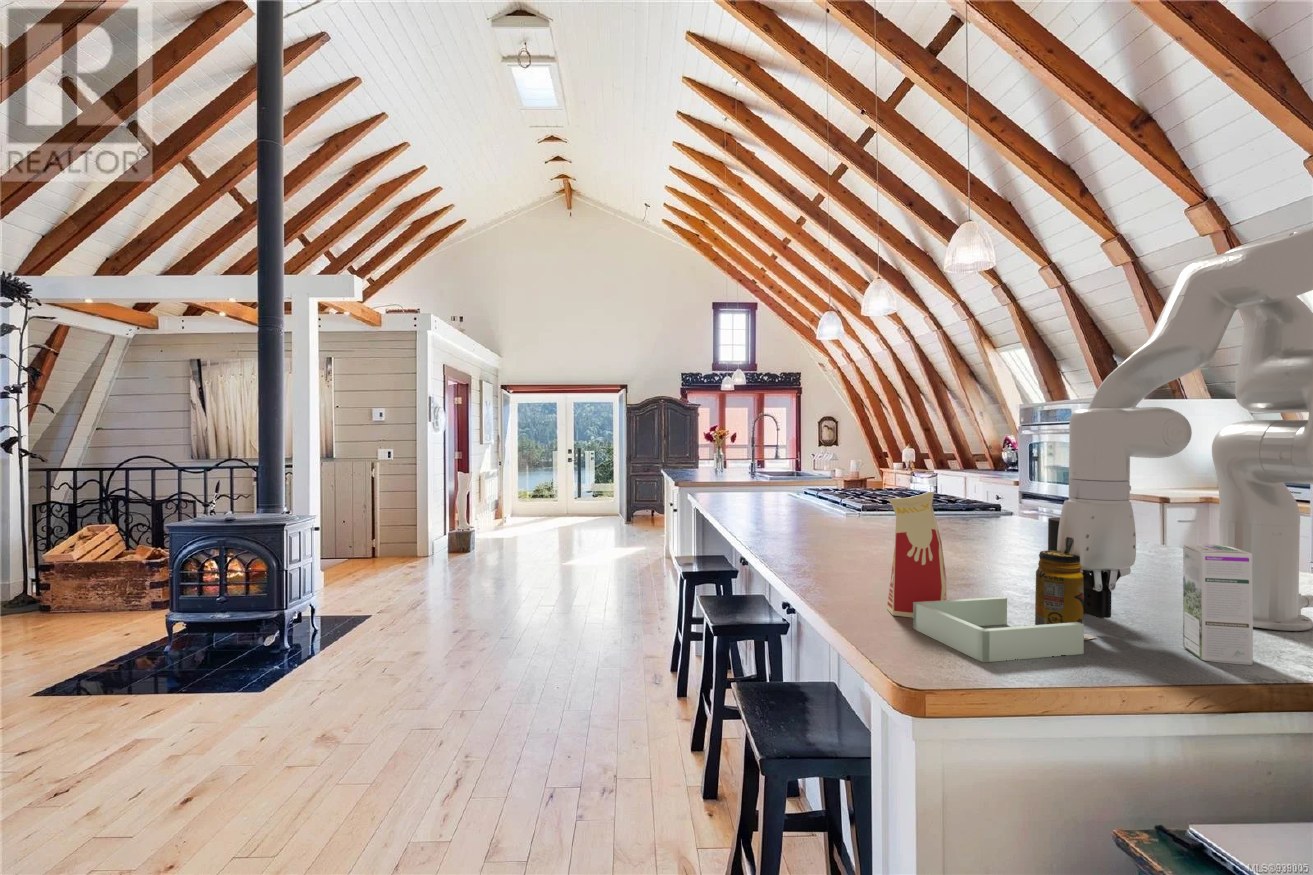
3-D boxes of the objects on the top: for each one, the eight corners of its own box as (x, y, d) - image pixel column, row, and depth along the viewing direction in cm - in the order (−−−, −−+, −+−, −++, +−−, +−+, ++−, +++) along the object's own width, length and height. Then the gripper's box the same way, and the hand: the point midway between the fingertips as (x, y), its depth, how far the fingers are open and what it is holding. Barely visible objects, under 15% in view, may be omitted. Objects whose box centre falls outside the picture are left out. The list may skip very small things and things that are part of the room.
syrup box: (1255, 666, 85) (1256, 552, 85) (1199, 661, 87) (1201, 549, 87) (1231, 651, 91) (1233, 545, 91) (1180, 647, 93) (1181, 542, 92)
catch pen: (1002, 622, 104) (1002, 596, 104) (1083, 654, 90) (1083, 624, 90) (913, 628, 101) (913, 602, 101) (982, 662, 86) (982, 631, 86)
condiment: (1097, 638, 97) (1098, 555, 96) (1057, 645, 93) (1058, 559, 93) (1050, 624, 103) (1050, 547, 103) (1011, 631, 100) (1011, 550, 100)
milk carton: (946, 608, 113) (947, 489, 113) (945, 622, 104) (946, 494, 104) (889, 602, 117) (890, 487, 116) (883, 615, 108) (884, 491, 108)
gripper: (1117, 488, 104) (1116, 606, 105) (1036, 490, 101) (1034, 611, 101) (1163, 493, 97) (1162, 619, 97) (1077, 495, 94) (1076, 626, 94)
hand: (1097, 615), depth 99 cm, fingers closed
